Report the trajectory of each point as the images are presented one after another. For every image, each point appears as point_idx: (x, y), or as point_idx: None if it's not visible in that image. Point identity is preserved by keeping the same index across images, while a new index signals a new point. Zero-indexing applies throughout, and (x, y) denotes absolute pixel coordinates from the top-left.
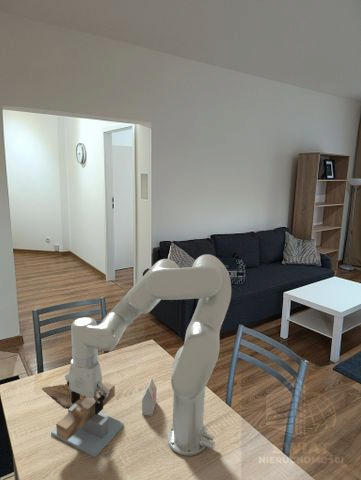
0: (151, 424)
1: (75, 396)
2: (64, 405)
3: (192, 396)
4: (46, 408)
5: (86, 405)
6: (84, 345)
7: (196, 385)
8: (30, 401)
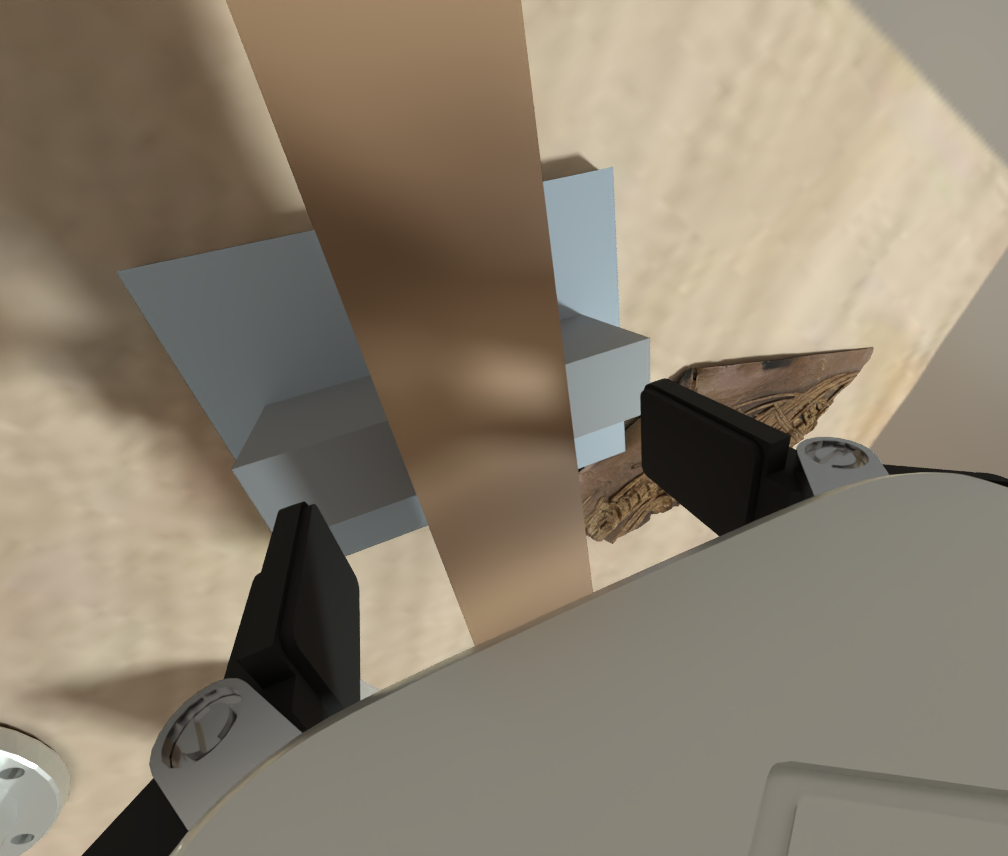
0: (198, 674)
1: (691, 451)
2: (703, 374)
3: None
4: (770, 287)
5: (486, 482)
6: None
7: None
8: (874, 251)
